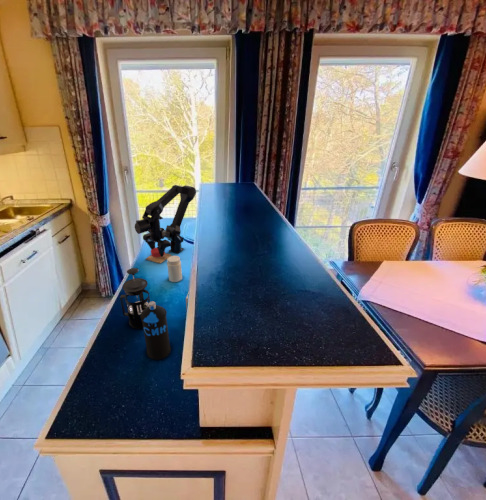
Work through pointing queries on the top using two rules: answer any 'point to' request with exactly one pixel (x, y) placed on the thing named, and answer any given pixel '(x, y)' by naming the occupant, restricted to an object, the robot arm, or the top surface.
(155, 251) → the lid
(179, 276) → the jar
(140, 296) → the french press
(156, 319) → the aerosol can
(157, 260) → the cork mat
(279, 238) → the top surface
